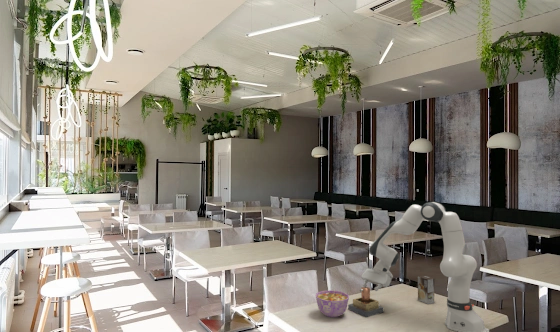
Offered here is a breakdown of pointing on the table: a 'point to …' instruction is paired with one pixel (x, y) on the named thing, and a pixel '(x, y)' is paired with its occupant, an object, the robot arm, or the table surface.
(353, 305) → the grey square holder
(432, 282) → the coffee box
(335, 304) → the bowl of food
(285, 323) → the table surface
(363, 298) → the spout can
